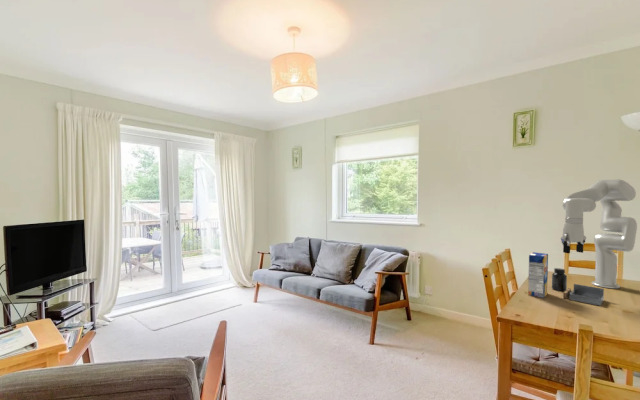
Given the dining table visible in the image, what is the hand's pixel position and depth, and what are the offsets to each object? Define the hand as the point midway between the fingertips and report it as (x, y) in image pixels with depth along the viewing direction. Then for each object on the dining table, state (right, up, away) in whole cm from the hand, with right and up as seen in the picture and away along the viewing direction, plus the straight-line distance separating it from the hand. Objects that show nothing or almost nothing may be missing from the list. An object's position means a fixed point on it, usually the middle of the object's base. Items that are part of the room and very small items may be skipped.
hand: (573, 252), depth 171 cm
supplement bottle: (0, -23, +10) cm, 25 cm away
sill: (-5, -23, -2) cm, 24 cm away
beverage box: (-18, -23, +1) cm, 30 cm away
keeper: (+1, -23, -8) cm, 25 cm away
